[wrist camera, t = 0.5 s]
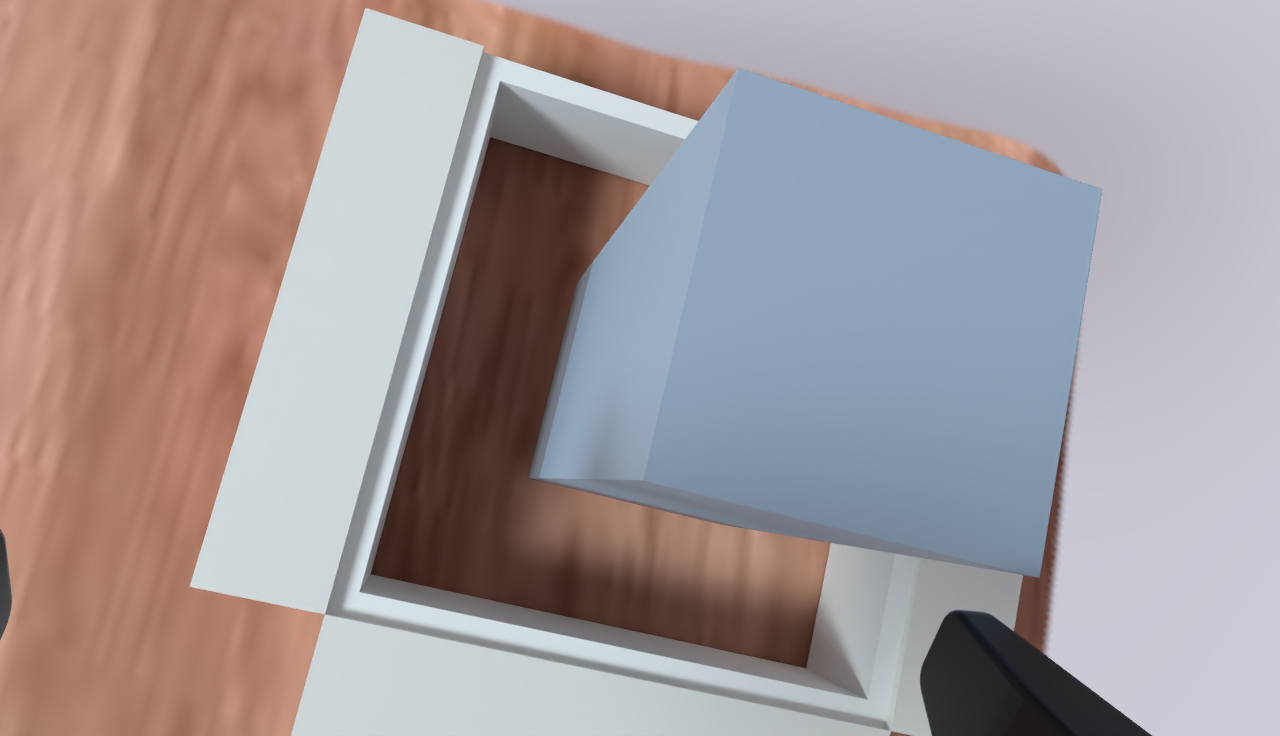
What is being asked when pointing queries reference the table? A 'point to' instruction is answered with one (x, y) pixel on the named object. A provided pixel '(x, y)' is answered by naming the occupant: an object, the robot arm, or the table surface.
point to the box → (831, 335)
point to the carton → (380, 424)
